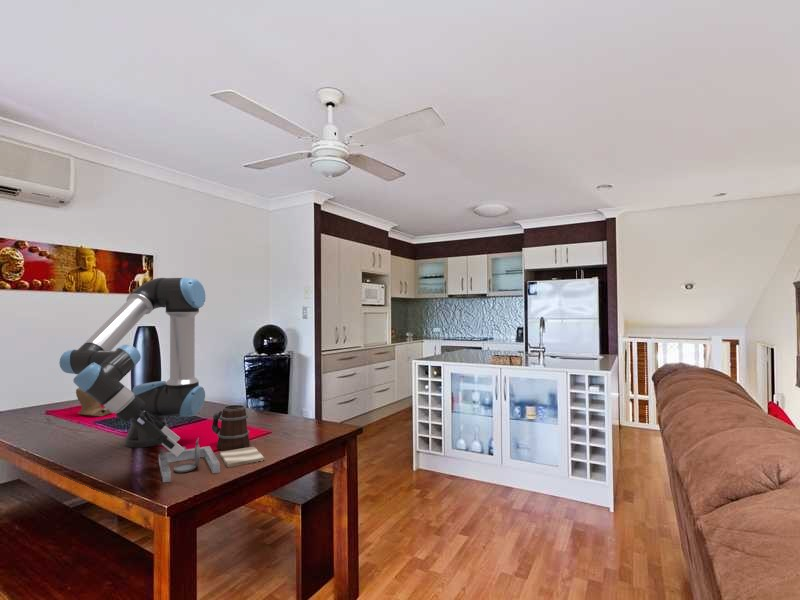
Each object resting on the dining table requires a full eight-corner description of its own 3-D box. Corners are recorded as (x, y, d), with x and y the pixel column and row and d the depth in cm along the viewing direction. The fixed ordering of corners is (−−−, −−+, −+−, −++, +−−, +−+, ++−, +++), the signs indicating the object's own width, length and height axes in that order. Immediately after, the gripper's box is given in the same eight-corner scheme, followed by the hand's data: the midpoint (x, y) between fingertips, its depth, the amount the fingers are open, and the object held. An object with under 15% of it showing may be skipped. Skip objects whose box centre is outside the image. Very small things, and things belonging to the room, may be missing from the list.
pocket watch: (168, 471, 138) (169, 440, 138) (192, 463, 145) (193, 433, 145) (185, 476, 134) (186, 444, 134) (208, 467, 141) (209, 437, 141)
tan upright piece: (69, 416, 206) (70, 385, 206) (95, 411, 217) (96, 381, 217) (89, 419, 200) (90, 387, 200) (114, 414, 210) (115, 383, 211)
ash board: (219, 455, 153) (219, 451, 153) (253, 449, 159) (254, 446, 159) (227, 467, 141) (227, 463, 141) (264, 460, 148) (264, 457, 148)
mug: (255, 442, 168) (256, 404, 168) (236, 452, 156) (236, 411, 156) (222, 439, 172) (222, 402, 172) (200, 448, 160) (201, 408, 161)
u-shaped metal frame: (157, 457, 150) (157, 448, 150) (206, 449, 159) (206, 441, 159) (163, 482, 128) (163, 472, 128) (219, 472, 137) (219, 462, 137)
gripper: (115, 406, 138) (166, 445, 146) (112, 423, 117) (172, 468, 125) (135, 388, 141) (184, 428, 149) (136, 402, 120) (193, 447, 128)
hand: (179, 446), depth 137 cm, fingers open, 13 cm apart
